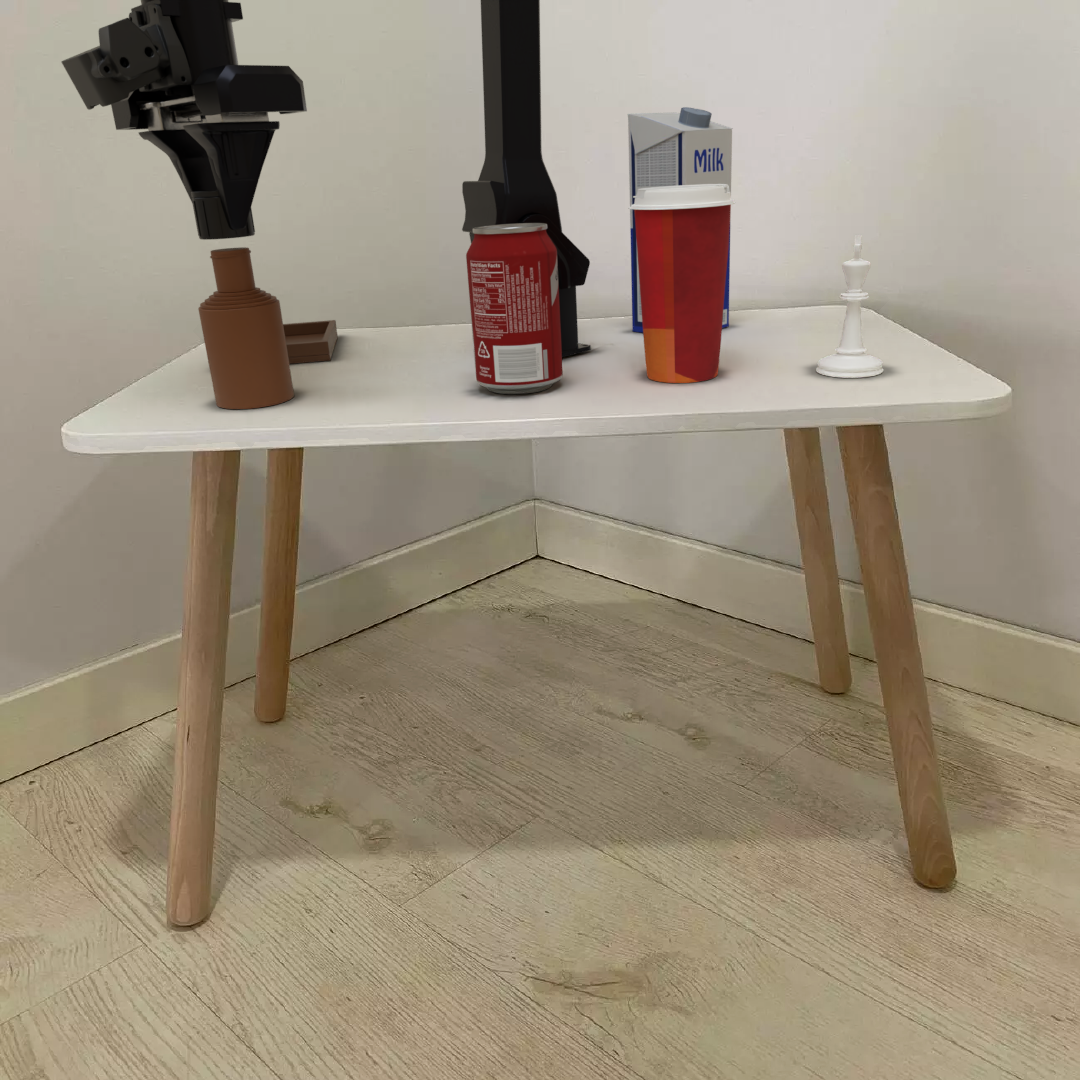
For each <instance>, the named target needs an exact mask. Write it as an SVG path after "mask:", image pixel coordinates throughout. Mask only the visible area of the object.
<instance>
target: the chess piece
mask: <svg viewBox="0 0 1080 1080" xmlns="http://www.w3.org/2000/svg"><path fill="white" fill-rule="evenodd" d="M862 240H863V235H862V234H855V235H854V245H853V258H850V260H846V261H843V262H842V264H841V267H842V270H843V274H844V278H845V279H844V280H845V284H846V286H847V289H846V291H845V292H841V293H840V295H839V297H838V298H839V299H840V300H842V301H847V303H846V309H845V316H844V322H843V327H842V331H841V337H840V342H839V345H838V347H835V349H834V350H835V352H836V353H833V354H828V355H826V356H824V357H821V358H820V359H818V361H817V367H816V369H815V371H816V372H817V374H820V375H823V376H826V377H834V378H841V379H842V378H845V379H857V378H858V379H859V378H869V377H875V376H878V375H880V374H883V373H884V368H883V364H884V362H883V360H882V359H880V357H877V356H874V355H872V354H868V353H865V352H867V350H868V349H867V348H866V347H864V344H863V343H864V342H863V332H862V330H863V329H862V309H861V307H862V306H861V301H865V300H868V299H870V296H869V293H868V292H866V291H864V290H863V286H864V284H865V282H866V278H867V275H868V273H869V271H870V269H871V265H872V263H871V262H870V261H869V260H866V259H864V258H861V255H862V254H861V253H862V249H863V248H862V247H863V246H862V245H863V242H862Z"/></svg>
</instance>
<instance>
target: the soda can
mask: <svg viewBox="0 0 1080 1080" xmlns="http://www.w3.org/2000/svg"><path fill="white" fill-rule="evenodd" d="M546 229H547V224H545V223H517V224H501V225H489V226H481V227H476V228H473V233H474V239H473V241H472V243H471V242H470V245H469V247H468V249H467V252H466V253H465V254H466V255H465V259H466V270H467V283H468V295H469V297H468V299H469V305H470V306H469V307H470V308H469V309H470V321H471V334H472V346H473V357H474V369H475V380H476V381H475V382H476V383H477V385H479V386H480V387H484V388H486V389H487V390H488V391H489V392H491V393H494V394H499V395H525V394H534V393H539V392H542V391H546V390H547V389H550V388H551V387H552V386H553V384H555V383H557V382H559V381H561V379H562V378H563V372H564V371H563V357H562V349H561V328H560V306H559V285H558V263H557V249H556V247H555V245H554V244H553V242H552V241H551V239H550V238H549V236H548V235H547V233H546Z"/></svg>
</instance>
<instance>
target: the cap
mask: <svg viewBox="0 0 1080 1080" xmlns="http://www.w3.org/2000/svg"><path fill="white" fill-rule="evenodd" d="M191 195H192V202H191V204H192V203H193V204H192V208H193V213H194V219H195V224H196V229H197V230H196V231H197V235H198V239H199V240H203V241H205V240H226V239H239V238H246V237H247V238H248V237H253V236H255V234H256V228H255V224H254V223H255V221H254V217H253V210H252V208H251V209H250V213H249V216H248V220H247V223H246V227H245V228H244V229H236V230H232V229H230V228H229V225H228V222H227V219H226V217H225V214H224V211H223V207H222V204H221V200H220V197H219V193H218V190H206V191H193V192H191Z"/></svg>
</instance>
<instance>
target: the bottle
mask: <svg viewBox="0 0 1080 1080" xmlns="http://www.w3.org/2000/svg"><path fill="white" fill-rule="evenodd" d="M251 252H252V251H251V249H250V248H249V247H245V246H244V247H228V248H227V247H225V248H218V249H211V250H210V256H209V259H211V263H212V268H213V273H214V279H215V285H216V291H213V294H210V295H209V296H208V298H205V299H204V301H202V302H201V303H200V304H199V306H198V309H197V310H198V315H199V319H200V320H199V321H200V326H201V330H202V336H203V341H204V347H205V352H206V358H207V362H208V368H209V374H210V378H211V379H210V380H211V384H212V389H213V393H214V394H213V395H214V400H215V404H216V406H217V407H218V408H221V409H227V410H251V409H260V408H265V407H270V406H271V407H272V406H275V405H280V404H283V403H286V402H288V401H290V400H291V399H293V398H294V396H295V391H294V385H293V380H292V373H291V372H292V371H291V366H290V364H289V359H288V353H287V346H286V340H285V334H284V327H283V324H284V322H283V315H282V307H281V302H280V299H277V298H278V297H277V296H276V295H273V294H271V293H270V292H267V291H266V290H264V289H261V287H256V281H255V276H254V275H255V274H254V269H253V263H252V258H251Z"/></svg>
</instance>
